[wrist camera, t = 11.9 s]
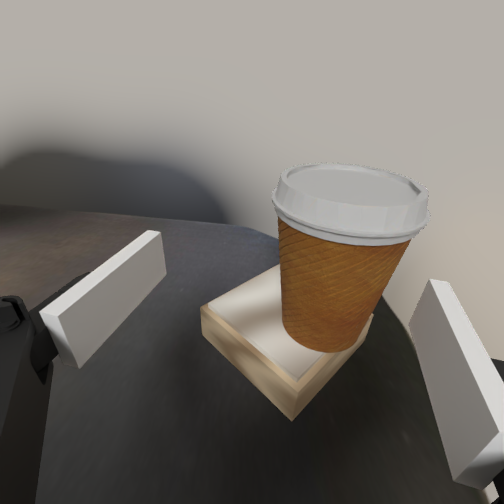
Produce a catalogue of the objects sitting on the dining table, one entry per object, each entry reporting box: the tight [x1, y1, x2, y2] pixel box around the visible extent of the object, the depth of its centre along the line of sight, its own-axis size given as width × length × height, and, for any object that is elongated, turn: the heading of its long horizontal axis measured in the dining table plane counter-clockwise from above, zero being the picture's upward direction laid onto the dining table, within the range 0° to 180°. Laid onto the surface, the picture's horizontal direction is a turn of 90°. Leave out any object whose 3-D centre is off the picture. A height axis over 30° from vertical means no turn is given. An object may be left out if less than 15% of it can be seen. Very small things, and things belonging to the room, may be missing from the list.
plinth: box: [200, 264, 373, 421], centre depth 26 cm, size 11×11×4 cm
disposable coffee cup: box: [272, 163, 430, 353], centre depth 21 cm, size 10×10×12 cm
